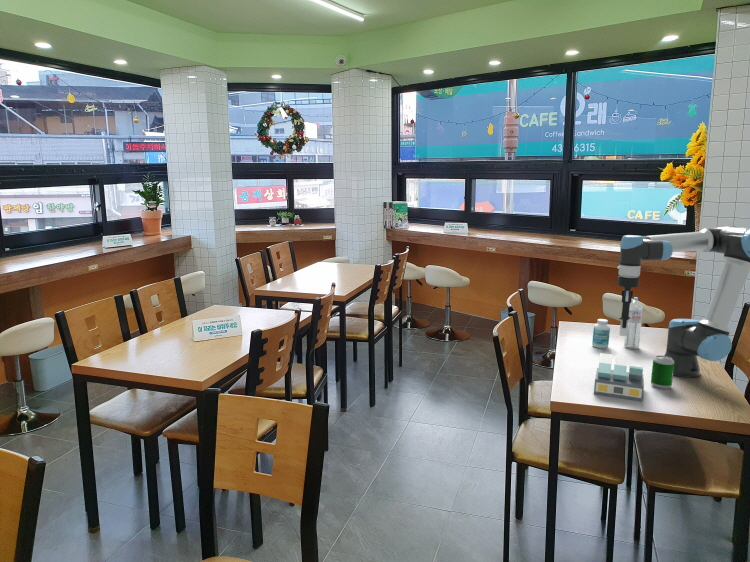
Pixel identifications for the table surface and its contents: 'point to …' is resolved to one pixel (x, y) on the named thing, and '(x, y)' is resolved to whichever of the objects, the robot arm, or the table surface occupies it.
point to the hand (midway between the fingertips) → (623, 335)
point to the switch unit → (620, 386)
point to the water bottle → (634, 325)
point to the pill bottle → (601, 334)
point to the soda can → (662, 372)
